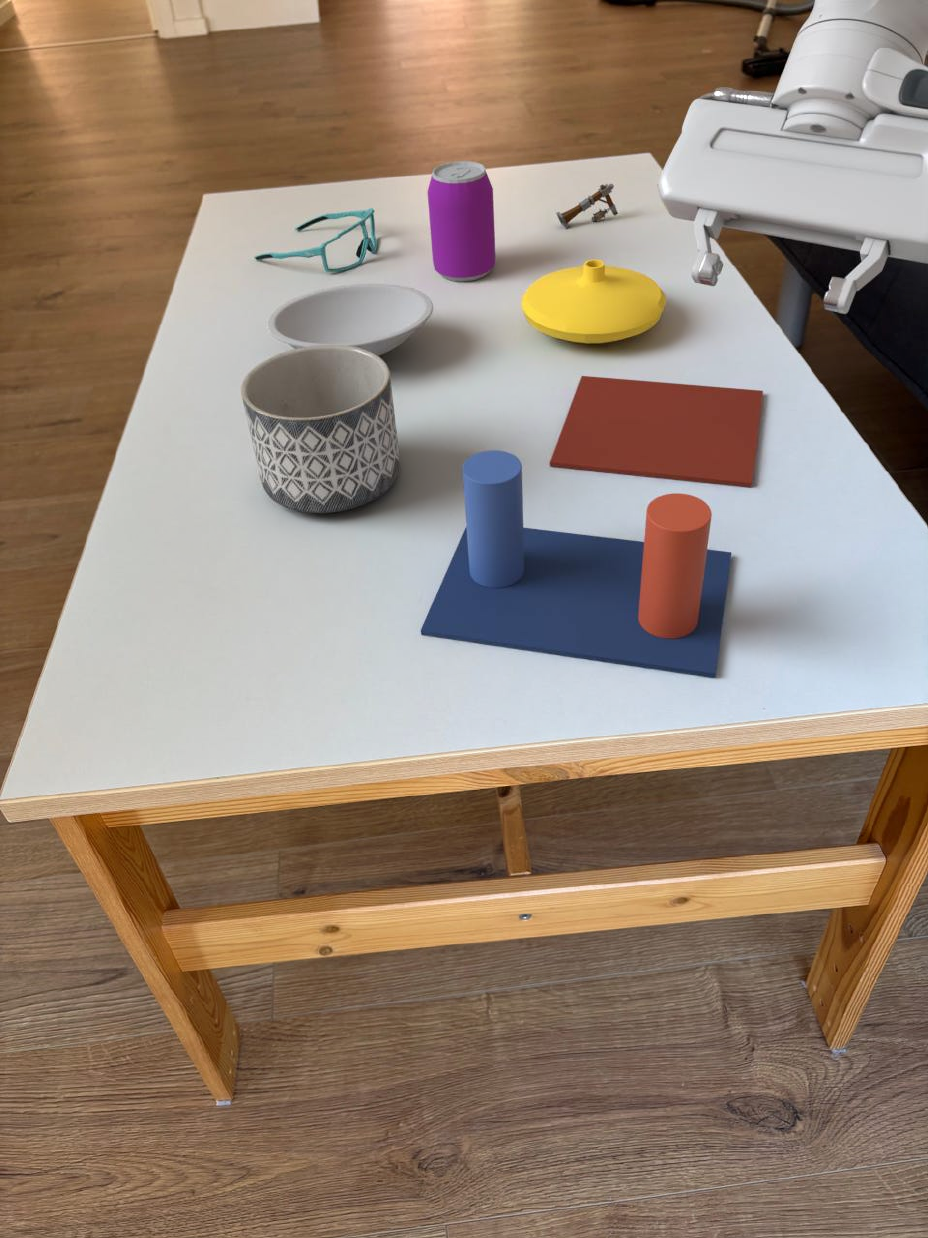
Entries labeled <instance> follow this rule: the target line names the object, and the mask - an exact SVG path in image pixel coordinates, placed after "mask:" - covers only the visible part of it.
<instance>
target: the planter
mask: <svg viewBox="0 0 928 1238" xmlns="http://www.w3.org/2000/svg"><path fill="white" fill-rule="evenodd" d="M240 395H241V399H242V403H243V407H244V412H245V416H246V420H247V424H248V429H249V433H250V434H249V435H250V438H251V443H252V447H253V450H254V455H255V459H256V465H257V468H258V473H259V476H260V481H261V485H262V488H263V490H264V492H265V493H266V495H267V496H268V497H269V498H270V499H271V500H272V501H273V502H275V503H277V504H278V505H280V506H281V507H284V508H287V509H290V510H293V511H296V512H302V513H308V514H309V513H310V514H328V513H329V514H330V513H338V512H343V511H347V510H352V509H355V508H359V507H361V506H364V505H366V504H369V503H371V502H372V501H374V500H375V499H378V498H379V497H381V496H382V495H383V494H385V493H386V492H388V490H389V489H390V488H391V487H392V486H393V485H394V484H395V482H396V480H397V479H398V477H399V474H400V470H401V457H400V449H399V441H398V431H397V423H396V414H395V406H394V398H393V390H392V381H391V373H390V368H389V366H388V364H387V363H386V361H385V360H384V359H383V358H381V357H380V356H377V355H375V354H373V353H371V352H369V351H367V350H364V349H360V348H356V347H351V346H344V345H317V346H309V347H303V348H298V349H295V348H293V349H291V350H287V351H284V352H282V353H281V352H280V353H279V354H277V355H276V354H275V355H274V356H271V357H270V358H267V359H266V360H263V361H262V362H260V363H259V364H258V365H256V366H255V367H254V368H252V369H251V370H249V372H248V373H247V375H246V376H245V377H244V379H243V381H242V384H241V386H240Z"/></svg>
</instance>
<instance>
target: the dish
mask: <svg viewBox="0 0 928 1238" xmlns="http://www.w3.org/2000/svg"><path fill="white" fill-rule="evenodd" d="M433 312H434V304H433V301H432V299H431V298H430V297H429V296H428V295H426V294H425V293H424V292H421V291H420V290H418V289H414V288H411V287H408V286H403V285H397V284H390V283H357V284H356V283H354V284H346V285H340V286H333V287H327V288H323V289H320V290H319V289H318V290H315V291H312V292H308V293H305V294H302V295H300V296H298V297H295V298H293V299H290V300H289V301H287V302H284V303H283V304H281V305H280V306H278V307H277V308H276V309H275V310H274V311H273V312H272V313H271V314H270V315H269V317H268V319H267V321H266V325H267V326H266V327H267V330H268V332H269V334H270V335H271V336H272V337H273V338H274V339H276V340H277V341H279V342H281V343H284V344H287V345H289V346H291V347H292V348H293V349H298V348H303V347H309V346H317V345H344V346H351V347H356V348H360V349H364V350H367V351H369V352H371V353H373V354H375V355H377V356H378V357H380V356H381V355H384V354H386V353H388V352H391V351H392V350H394V349H396V348H397V347H399V346H401V345H402V344H403V343H404V342H405V341H407V340H408V339H409V338H410V337H411V336H412V335H413V334H414V333H415V332H416V331H417V330H418V328H420V327H422V326H423V325H424V324H425V323H426V322H427V321H428V320H429V319H430V318H431V316H432V315H433Z"/></svg>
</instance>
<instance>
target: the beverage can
mask: <svg viewBox="0 0 928 1238" xmlns="http://www.w3.org/2000/svg"><path fill="white" fill-rule="evenodd" d="M431 173H432V174H431V177H430V180H429V184H428V188H427V203H428V212H429V213H428V215H429V217H428V218H429V227H430V238H431V239H430V241H431V253H432V263H433V267H434V271H435V272H437V273H438V274H439V275H440V276H441V277H442V278H443V279H446V280H448V281H453V282H472V281H476V280H479V279H481V278H484V277H486V276H487V275H488V274H489V273H490V272H491V271H492V270H493V269H494V267H495V265H496V234H495V233H496V232H495V210H494V188H493V185H492V182H491V180H490V178H489V175H488V173H487V169H486V167H485V165H483V164H482V163H479V162H476V161H469V160H459V161H458V160H457V161H450V162H444V163H443V164H440V165H438V166H435V168H433V170H432V172H431Z"/></svg>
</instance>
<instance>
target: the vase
mask: <svg viewBox="0 0 928 1238" xmlns="http://www.w3.org/2000/svg"><path fill="white" fill-rule="evenodd" d="M666 297H667V296H666V294H665V293H664V291H663V290H662V288H661V287H660V286H659V285H658V283H657V282H656V281H655V280H654V279H652V278H650V277H649V276H647V275H646V274H644V273H641V272H638V271H636V270H633V269H630V268H624V267H619V266H611V265H605V262H604V261H603V260H601V259H589V260H586V261H584V263H583V265H579V266H573V267H566V268H563V269H558V270H556V271H551V272H550V273H547V274H545V275H543V276H541V277H539V278H538V279H536V280H535V281H534V282H533V283H531V284H530V285H529V287H528V288H527V289H526V290H525V292H524V293H523V295H522V297H521V304H520V305H521V306H520V307H521V310H522V312H523V315H524V317H525V319H526V320H527V322H528V324H529V325H530V326H532V328H534V330H536V331H538V332H540V333H542V334H545V335H547V336H549V337H551V338H555V339H560V340H564V341H566V342H567V341H568V342H572V343H579V344H604V343H611V342H618V341H621V340H625V339H629V338H631V337H635V336H637V335H640V334H642V333H644V332H646V331H648V330H650V329H652V328H653V326H655V325H656V324H657V323H658V322H659V321H660V319H661V317H662V315H663V312H664V311H665V307H666V305H667V298H666Z"/></svg>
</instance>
